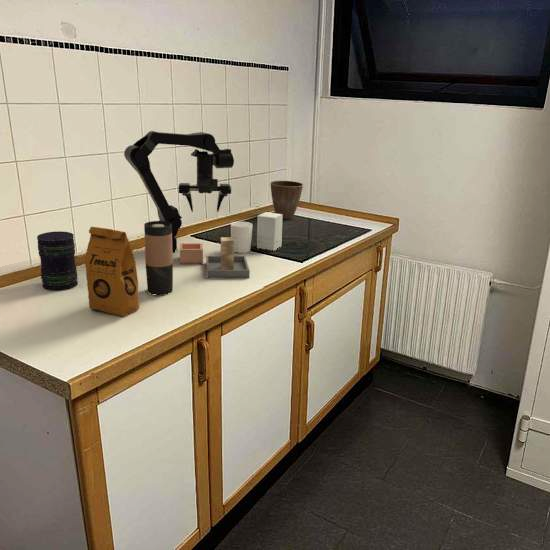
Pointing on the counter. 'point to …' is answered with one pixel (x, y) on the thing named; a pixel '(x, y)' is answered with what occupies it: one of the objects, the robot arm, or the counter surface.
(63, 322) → the counter surface
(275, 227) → the supplement box
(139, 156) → the robot arm
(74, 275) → the storage jar
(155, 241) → the travel mug
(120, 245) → the coffee package
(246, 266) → the charcoal tray
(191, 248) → the pink open box
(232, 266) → the wooden peg
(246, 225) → the white cup
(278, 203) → the plant pot
